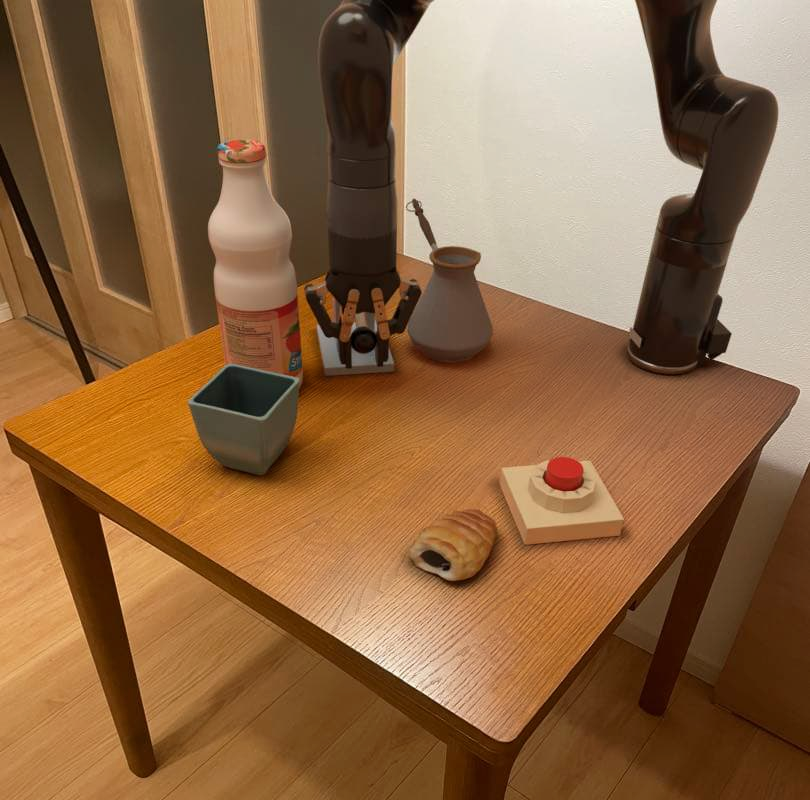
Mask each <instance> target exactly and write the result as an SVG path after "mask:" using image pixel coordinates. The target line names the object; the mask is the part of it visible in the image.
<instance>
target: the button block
mask: <svg viewBox="0 0 810 800" xmlns="http://www.w3.org/2000/svg"><path fill="white" fill-rule="evenodd" d="M550 460H551V459H549V460H544V461H542V462H540V463H538V464H531V465H518V466H506V467H501V468H500V475H499V483H498V485H499V487H500V489H501V491H502V492H501V493H502V494H503V497H504V499H505V501H506V503H507V505H508V509H509V511H510V513H511V516H512V518H513V520H514V523H515V525H516V527H517V528H516V529H517V530H518V533H519V535H520V537H521V540H522V543H523V545H524V546H527V545H537V544H538V545H539V544H548V543H558V542H568V541H578V540H589V539H598V538H599V539H600V538H608V537H618V536H619V537H620V536H621V533H622V530H623V525H624V522H625V518H624V516H623V515H622V512H621V511H620V509H619V508H618V505H617V504H616V502H615V500H614V499H613V497H612V495H611V494H610V492H609V489H608V488H607V487H606V485H605V483H604V481H603V480H602V478H601V476H600V474H599V473H598V471H597V469H596V468H595V466H594V464H593V463H592V460H580V461H579V460H577V461H578V462H580V463H581V464H582V466H583V469H584V471H583V475H582V480H581V485H580V487H579V488H578V489H576V490H574V491H567V492H564V491H559V490H555V489H553V488H551V487H550V486H548V485H547V483H546V481H545V476H546V470H547V465H548V462H549V461H550Z"/></svg>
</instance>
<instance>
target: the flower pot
mask: <svg viewBox="0 0 810 800" xmlns="http://www.w3.org/2000/svg"><path fill="white" fill-rule="evenodd" d="M299 383H300V380H299V378H296V377H293V376H288V375H283V374H278V373H273V372H269V371H264V370H260V369H255V368H251V367H245V366H242V365H237V364H227V365H225V364H224V366H222V368H221V369H219V371H217V373H215V374H214V375H213V377H212V378H210V379H209V380H208V381H207V382H206V383H205V384H204V385H203V386H202V387H201V388H199V390H197V392H196V393H194V394H193V395H192V396H191V397H190V398H189V399H188V401H187V405H188V407H189V411H190V414H191V417H192V420H193V424H194V427H195V430H196V432H197V435H198V437H199V440H200V442H201V444H202V446H203V447H204V449H205V450H206V451H207V452H208V454H209V455H210V456H211V457H212V458H213V459H214V460H215V461H216V462H217V463H219V464H220V465H221V466H222V467H225V468H229V469H233V470H237V471H241V472H245V473H249V474H253V475H256V476H263V475H265V474H266V473H267V472H268V471H269V469H270V468H271V466H272V465H273V464H274V463H275V461H277V459H278V458H279V457H280V456H281V454H282V453H283V451H284V450H285V448H286V446H287V445H288V443H289V442H290V439H291V438H292V435H293V433H294V429H295V427H296V424H297V423H296V422H297V418H298V409H299V397H300V396H299V395H300V388H299Z"/></svg>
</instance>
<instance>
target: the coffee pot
mask: <svg viewBox="0 0 810 800" xmlns="http://www.w3.org/2000/svg"><path fill="white" fill-rule="evenodd" d="M410 204H412V207H413V210H412V209H408V206H409V205H410ZM422 207H423V206H422V202H421V201H420V200H417V199H416V198H412V200H411V201H409V202H408V203H406V205H405V210H406V211H408V212H409V213H410V212H412V213H413V212H414V215H415V216H416V217H417V218H418V219H417V220H418V224H419V227H420V229H421V231H422V233H423V235H424V237H425V239H426V241H427V243H428V245H429V247H430V248H431V251H430V252H429V260H430V262H431V263H432V267H433V272H432V274H431V275H430V278H429V280H428V282H427V283H426V286H425V288H424V290H423V291H422V294H421V296H420V298H419V300H418V303H417V305H416V307H415V309H414V311H413V314H412V316H411V318H410V320H409V322H408V324H407V327H406V328H407V330H406V331H407V334H408V336H409V338H410V340H411V342H412V344H413V345H414V346H415V347H416V348H417V349H418V350H419V351H421V352H422V354H423V355H425V357H427V358H428V359H431V360H434V361H437V362H442V363H461V362H465V361H468V360H470V359H472V358H473V357H475V356H476V355H477V354H479V353H480V352H481V351H483V350H484V349H485V348H486V347H487V346H488V345H489V343H490V342H491V340H492V337H493V335H494V329H493V324H492V321H491V318H490V316H489V312H488V310H487V307H486V304H485V301H484V298H483V295H482V292H481V289H480V286H479V284H478V280H477V278H476V275H475V270H476V267H477V265H479V263H480V261H481V259H482V253H481V252H479V251H476V250H475V249H472V248H469V247H465V246H458V245H457V246H456V245H454V246H453V245H450V246H448V245H447V246H441V247H438V244H437V241H436V238H435V235H434V233H433V230H432V226H431V225H430V222H429V220H428V219H427V217H426V216H425V214H424V209H423V208H422Z"/></svg>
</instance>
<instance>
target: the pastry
mask: <svg viewBox="0 0 810 800" xmlns="http://www.w3.org/2000/svg"><path fill="white" fill-rule="evenodd" d="M497 533H498V527H497V524H496V521H495V520H494V518H492V517H491V516H489V515H488V514H486V513H484V512H483V511H482V510H481V509H478V508H477V509H475V508H474V509H472V508H469V509H464V510H460V511H459V510H455V511H454V512H452V513H451V514H449V513H446V514H444V515H443V516H442V517H441V518H436V519H435V520H433V522H432V523H431V524H430V526H426V527H424V528H422V529H421V531H420V532H419V533H418V535H417V538H416V540H415V543H414V544H413V545H412V547H409V551H408V552H409V553H408V554H409V557H410V559H411V560H412V561H413V563H414V565H415V566H416V567H418V568H419V569H422V570H423V571H426V572H429V573H432V574H435V575H438V576H440V578H443V579H445V580H446V581H449V582H456V581H457V582H458V581H463V580H467V579H469V578H472V577H474V576H475V575H476V574H477V573H479V571H480V570H482V567H483V566H484V564H485V562H486V561H487V559H488V557H489V556H490V554H491V551H492V549H493V546H494V544H495V542H496V538H497Z"/></svg>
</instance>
